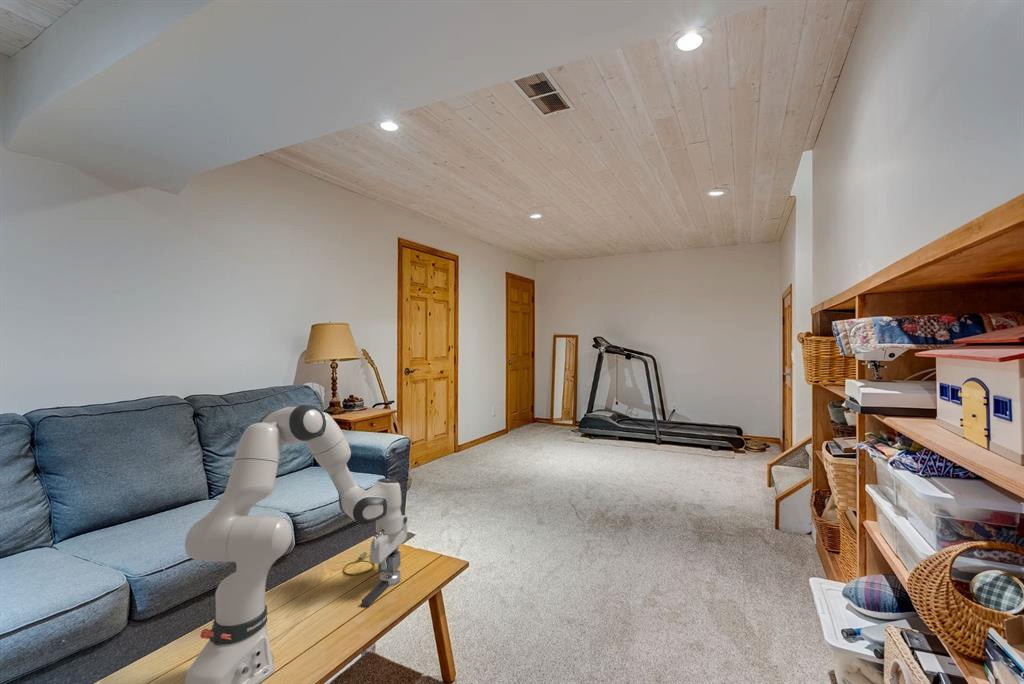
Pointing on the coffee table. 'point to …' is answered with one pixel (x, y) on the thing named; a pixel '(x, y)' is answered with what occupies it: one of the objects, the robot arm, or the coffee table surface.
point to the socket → (391, 562)
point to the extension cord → (359, 561)
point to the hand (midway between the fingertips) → (389, 564)
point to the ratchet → (381, 587)
